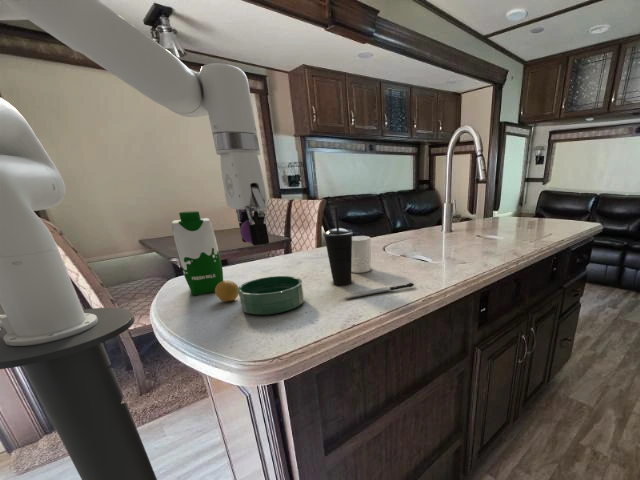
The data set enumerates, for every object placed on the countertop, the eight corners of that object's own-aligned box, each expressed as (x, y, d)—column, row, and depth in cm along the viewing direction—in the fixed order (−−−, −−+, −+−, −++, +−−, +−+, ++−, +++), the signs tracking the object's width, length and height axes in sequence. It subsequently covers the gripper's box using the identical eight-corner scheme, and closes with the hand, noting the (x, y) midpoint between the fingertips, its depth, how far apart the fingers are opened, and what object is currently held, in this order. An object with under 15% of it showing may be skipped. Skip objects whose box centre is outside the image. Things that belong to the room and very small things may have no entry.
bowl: (235, 320, 65) (230, 297, 63) (249, 298, 77) (245, 278, 75) (302, 313, 67) (299, 291, 65) (305, 293, 79) (303, 274, 77)
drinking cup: (355, 277, 91) (350, 205, 84) (357, 285, 84) (352, 208, 77) (328, 280, 90) (320, 206, 83) (328, 288, 83) (320, 209, 76)
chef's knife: (339, 296, 77) (343, 300, 74) (339, 292, 76) (342, 295, 74) (409, 284, 84) (414, 287, 82) (409, 280, 84) (414, 282, 81)
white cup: (361, 274, 94) (359, 241, 90) (341, 271, 98) (339, 239, 94) (377, 268, 100) (375, 237, 97) (357, 265, 104) (355, 235, 101)
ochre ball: (214, 305, 72) (209, 285, 71) (221, 298, 77) (216, 278, 75) (238, 303, 73) (233, 283, 72) (243, 296, 78) (239, 277, 76)
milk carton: (188, 297, 78) (165, 214, 71) (189, 288, 85) (168, 211, 78) (228, 290, 82) (210, 211, 75) (225, 282, 89) (208, 209, 82)
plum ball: (240, 247, 63) (234, 221, 61) (246, 242, 68) (241, 218, 66) (266, 245, 64) (262, 220, 62) (270, 241, 69) (266, 217, 67)
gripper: (203, 149, 63) (223, 240, 69) (230, 140, 51) (252, 251, 57) (242, 150, 67) (258, 236, 74) (275, 142, 56) (291, 245, 62)
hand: (255, 241), depth 66 cm, fingers closed on plum ball, 4 cm apart
